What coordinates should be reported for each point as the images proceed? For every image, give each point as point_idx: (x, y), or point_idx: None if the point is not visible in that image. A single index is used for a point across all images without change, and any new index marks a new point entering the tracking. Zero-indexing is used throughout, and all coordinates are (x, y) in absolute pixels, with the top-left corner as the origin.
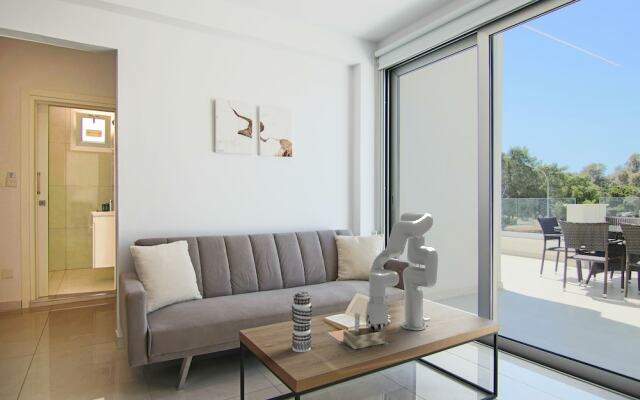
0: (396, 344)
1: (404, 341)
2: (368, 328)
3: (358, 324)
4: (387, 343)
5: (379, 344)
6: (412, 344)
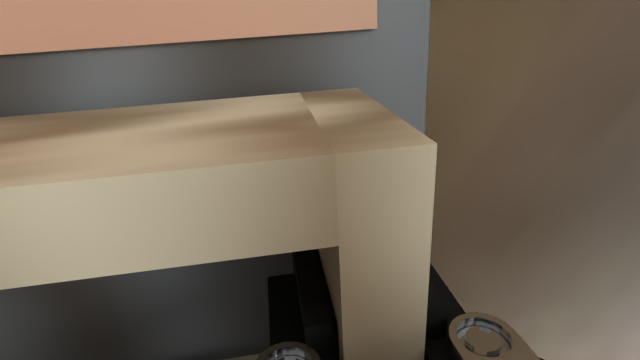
0: (500, 318)
1: (631, 269)
2: (223, 244)
3: None
4: None
5: None
6: (626, 348)
